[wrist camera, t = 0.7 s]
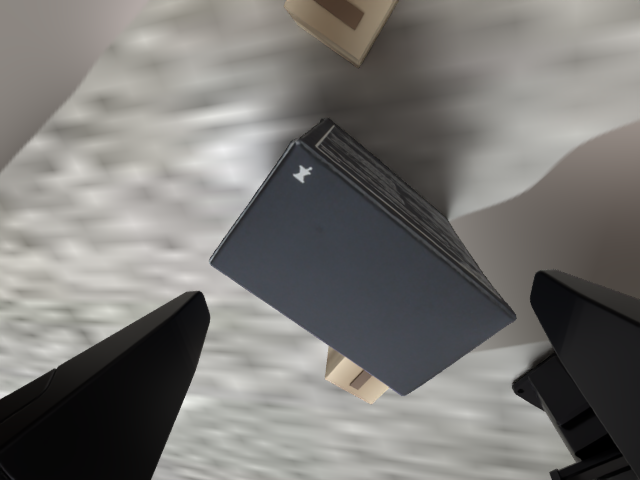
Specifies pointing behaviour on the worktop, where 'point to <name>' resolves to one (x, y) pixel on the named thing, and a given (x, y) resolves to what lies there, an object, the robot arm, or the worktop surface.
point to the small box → (361, 262)
